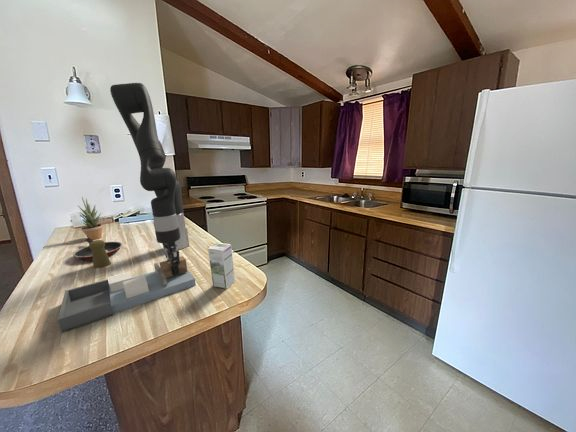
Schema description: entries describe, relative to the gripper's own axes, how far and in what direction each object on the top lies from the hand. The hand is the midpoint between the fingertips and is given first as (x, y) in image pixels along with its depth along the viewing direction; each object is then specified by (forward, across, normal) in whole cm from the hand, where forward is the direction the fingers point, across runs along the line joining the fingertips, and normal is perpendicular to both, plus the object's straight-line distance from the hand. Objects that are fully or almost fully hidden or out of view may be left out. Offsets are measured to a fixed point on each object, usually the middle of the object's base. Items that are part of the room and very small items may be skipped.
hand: (174, 272), depth 87 cm
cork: (+4, +36, +21) cm, 42 cm away
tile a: (+1, -4, +12) cm, 13 cm away
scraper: (0, 0, 0) cm, 0 cm away
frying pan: (+4, +58, +23) cm, 63 cm away
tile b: (+1, +4, +16) cm, 16 cm away
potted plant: (+4, +84, +24) cm, 87 cm away
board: (+3, 0, +7) cm, 8 cm away
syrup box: (+4, -14, -13) cm, 19 cm away
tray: (+3, 0, +25) cm, 25 cm away
